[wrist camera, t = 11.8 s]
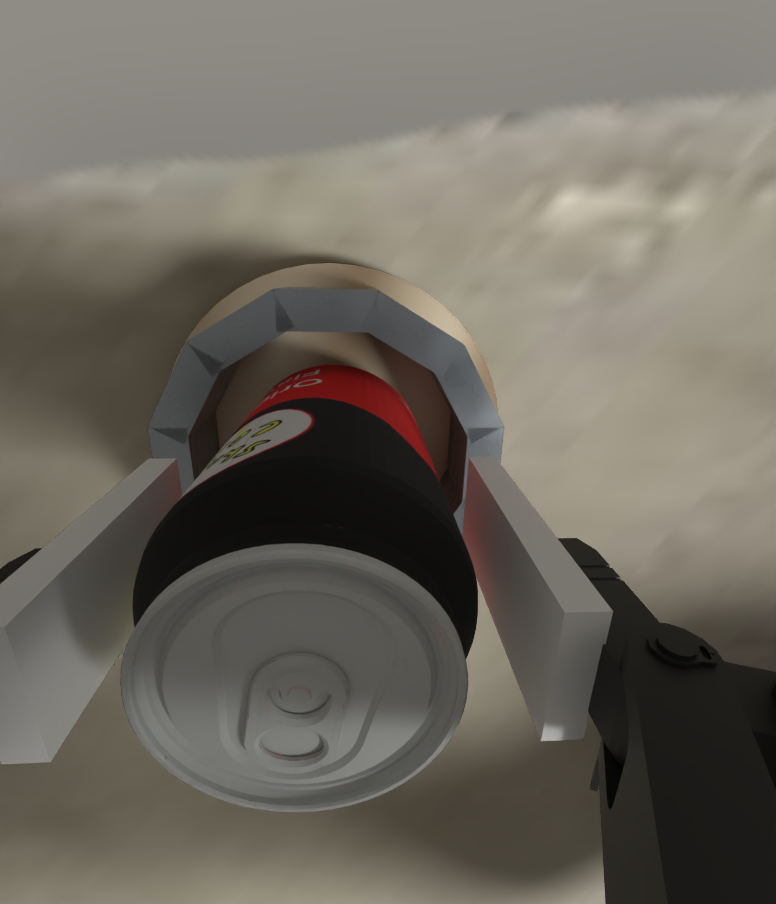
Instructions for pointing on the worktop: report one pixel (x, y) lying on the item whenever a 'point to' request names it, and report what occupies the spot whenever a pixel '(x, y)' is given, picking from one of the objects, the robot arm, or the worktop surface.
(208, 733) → the beverage can
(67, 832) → the worktop surface
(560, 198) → the worktop surface
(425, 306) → the base disc
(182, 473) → the ring collar
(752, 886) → the robot arm
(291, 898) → the worktop surface
